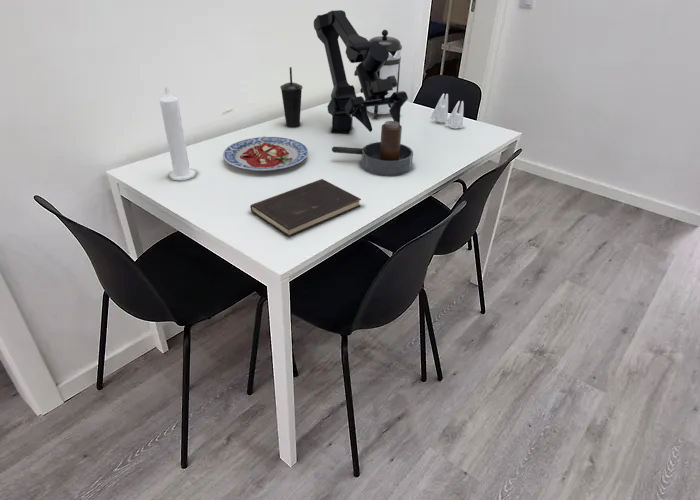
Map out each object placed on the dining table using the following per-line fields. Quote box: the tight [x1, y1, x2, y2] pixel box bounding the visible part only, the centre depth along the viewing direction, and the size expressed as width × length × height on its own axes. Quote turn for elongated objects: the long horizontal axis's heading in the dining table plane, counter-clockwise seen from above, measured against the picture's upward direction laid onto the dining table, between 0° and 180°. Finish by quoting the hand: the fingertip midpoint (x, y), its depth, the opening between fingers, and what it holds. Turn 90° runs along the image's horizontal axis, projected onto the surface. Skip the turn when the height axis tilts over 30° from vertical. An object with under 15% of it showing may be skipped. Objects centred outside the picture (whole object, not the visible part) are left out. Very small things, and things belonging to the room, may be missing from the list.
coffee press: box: [367, 29, 403, 120], centre depth 180 cm, size 17×16×30 cm
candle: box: [159, 85, 196, 182], centre depth 131 cm, size 7×7×25 cm
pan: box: [361, 141, 414, 177], centre depth 146 cm, size 15×15×4 cm
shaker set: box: [430, 93, 465, 130], centre depth 175 cm, size 12×4×11 cm, turn 48°
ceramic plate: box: [222, 136, 309, 172], centre depth 149 cm, size 26×26×3 cm
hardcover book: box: [249, 178, 362, 238], centre depth 123 cm, size 16×23×2 cm
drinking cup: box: [279, 66, 303, 128], centre depth 169 cm, size 8×8×20 cm
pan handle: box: [331, 146, 367, 156], centre depth 147 cm, size 11×2×2 cm, turn 82°
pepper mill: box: [380, 120, 403, 161], centre depth 143 cm, size 6×6×13 cm
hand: (385, 128), depth 143 cm, fingers open, 9 cm apart
